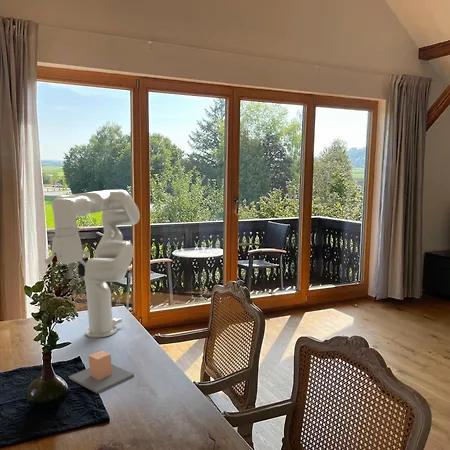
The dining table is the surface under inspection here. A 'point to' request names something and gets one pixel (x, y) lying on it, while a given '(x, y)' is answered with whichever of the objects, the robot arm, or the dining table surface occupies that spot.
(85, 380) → the mat
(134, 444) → the dining table surface
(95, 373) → the block
